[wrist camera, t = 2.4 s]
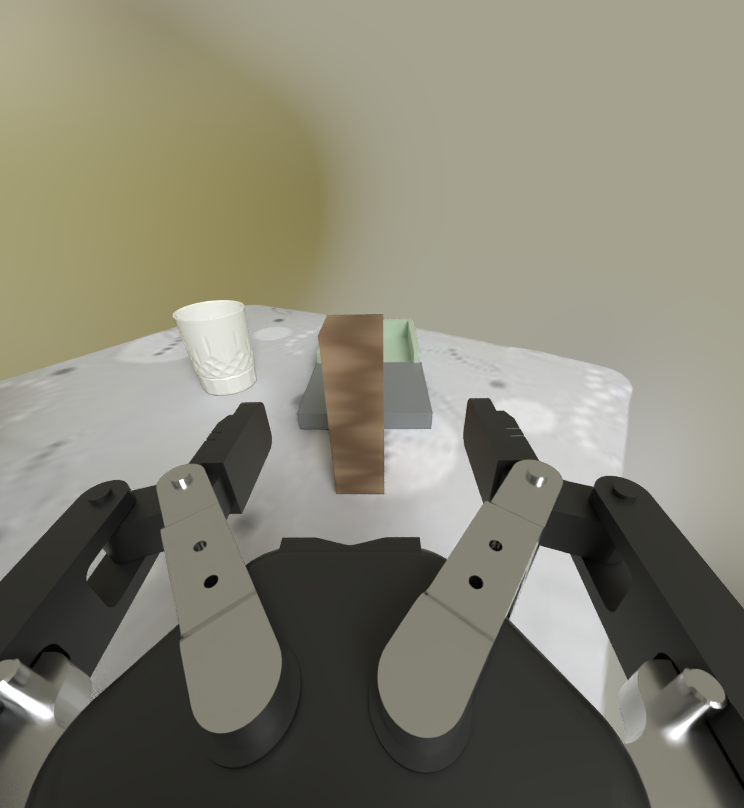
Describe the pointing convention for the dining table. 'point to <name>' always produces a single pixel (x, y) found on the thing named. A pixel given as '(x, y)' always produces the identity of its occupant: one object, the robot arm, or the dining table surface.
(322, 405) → the plate
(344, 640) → the robot arm
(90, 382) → the dining table surface
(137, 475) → the dining table surface
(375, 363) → the tall wooden post
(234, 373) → the white cup
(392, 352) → the tray
